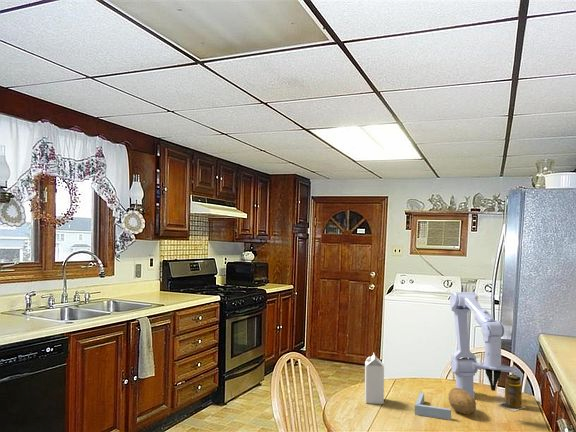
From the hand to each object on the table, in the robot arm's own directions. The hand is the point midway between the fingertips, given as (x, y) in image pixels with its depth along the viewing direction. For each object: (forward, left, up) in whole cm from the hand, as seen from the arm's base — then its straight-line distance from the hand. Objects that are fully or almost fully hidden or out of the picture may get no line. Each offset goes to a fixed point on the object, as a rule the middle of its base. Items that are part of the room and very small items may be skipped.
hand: (493, 389), depth 176 cm
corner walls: (+3, -21, -10) cm, 23 cm away
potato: (0, -11, -10) cm, 15 cm away
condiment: (-15, +7, -10) cm, 19 cm away
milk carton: (+2, -45, -10) cm, 46 cm away
